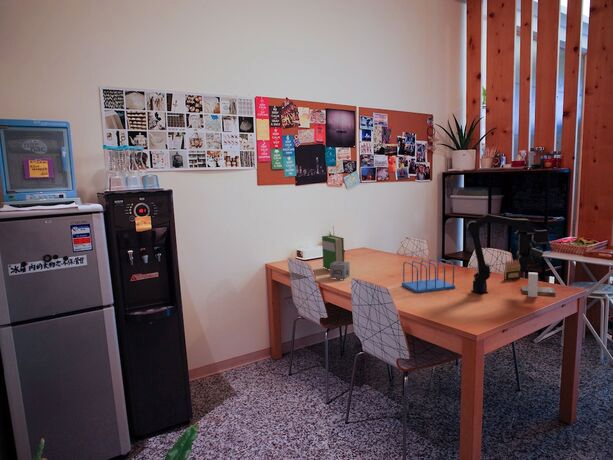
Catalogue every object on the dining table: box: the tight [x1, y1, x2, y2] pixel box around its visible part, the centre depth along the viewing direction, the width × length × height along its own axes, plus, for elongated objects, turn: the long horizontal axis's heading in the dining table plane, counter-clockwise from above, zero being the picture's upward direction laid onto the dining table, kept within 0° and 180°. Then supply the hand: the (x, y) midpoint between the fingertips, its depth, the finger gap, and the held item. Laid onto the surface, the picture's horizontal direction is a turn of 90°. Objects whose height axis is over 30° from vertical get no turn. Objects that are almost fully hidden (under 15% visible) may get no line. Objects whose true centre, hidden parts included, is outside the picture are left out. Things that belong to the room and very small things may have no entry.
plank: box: [520, 285, 556, 297], centre depth 216 cm, size 15×10×2 cm, turn 65°
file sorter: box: [401, 258, 456, 294], centre depth 235 cm, size 25×17×15 cm
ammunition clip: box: [503, 259, 522, 281], centre depth 246 cm, size 11×2×12 cm, turn 106°
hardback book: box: [321, 235, 345, 269], centre depth 289 cm, size 18×7×24 cm, turn 26°
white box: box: [527, 271, 539, 298], centre depth 214 cm, size 4×13×12 cm, turn 155°
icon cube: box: [329, 261, 351, 280], centre depth 266 cm, size 10×10×10 cm
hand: (524, 272), depth 213 cm, fingers closed
